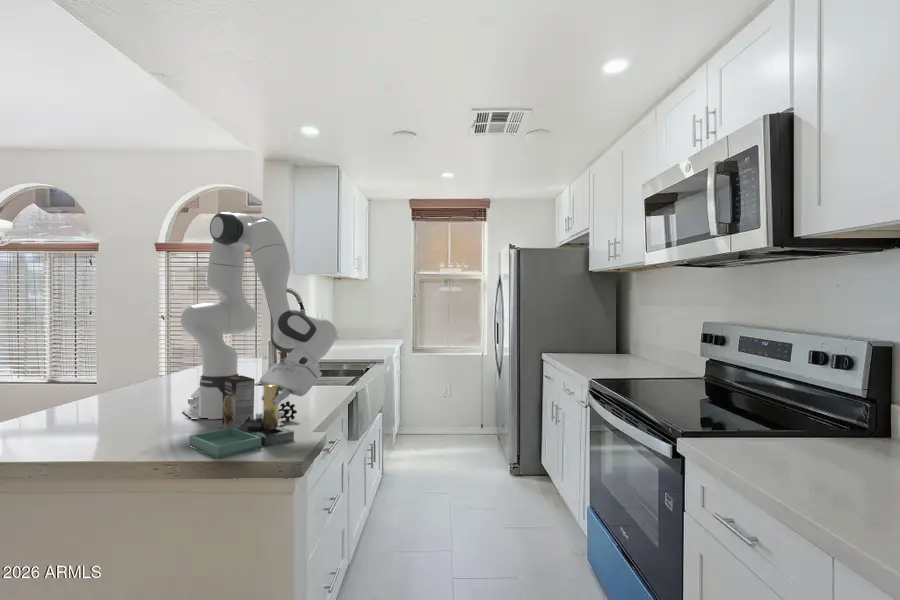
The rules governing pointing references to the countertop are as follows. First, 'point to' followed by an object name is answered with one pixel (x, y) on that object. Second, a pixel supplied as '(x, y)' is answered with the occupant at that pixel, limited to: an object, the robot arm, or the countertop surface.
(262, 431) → the block
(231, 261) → the robot arm
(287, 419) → the valve
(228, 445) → the tray
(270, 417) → the pin
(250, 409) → the coffee box
